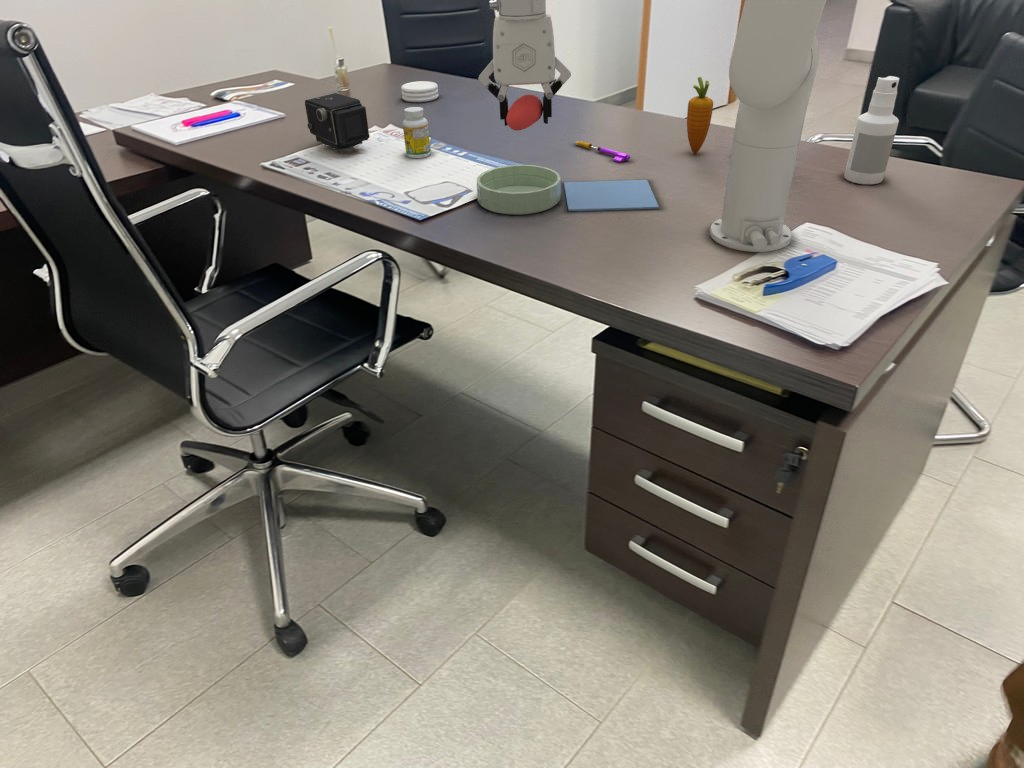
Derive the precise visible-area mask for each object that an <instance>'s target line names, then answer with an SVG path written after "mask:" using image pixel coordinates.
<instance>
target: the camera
mask: <svg viewBox="0 0 1024 768" xmlns="http://www.w3.org/2000/svg"><path fill="white" fill-rule="evenodd" d="M304 107H305V112H306V117H307V128H308V130H309V132H310V134H311V135H313V136H315V139H316V141H317V142H318V143H322V144H323V145H324V146H327V147H329V148H331V149H334V150H336V151H338V150H339V152H340V153H343V154H347V153H353V152H354V151H355V148H354V147H355V146H358V145H361V144H363V142H365V141H368V140H369V139H370V131H369V123H368V122H369V121H368V115H367V108H366V106H365V105H363V103H361V100H360V99H358V98H356V97H351V96H348V95H344V94H341V93H337V92H333V93H330V94H325V95H322V96H317V97H313V98H308V99H305V100H304Z"/></svg>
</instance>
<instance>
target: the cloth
mask: <svg viewBox="0 0 1024 768" xmlns="http://www.w3.org/2000/svg"><path fill="white" fill-rule="evenodd" d="M563 186H564V193H565V199H566V205H567V212H596V211H597V212H599V211H630V210H631V211H632V210H659V209H660V206H659V204H658V201H657V199H656V197H655V194H654V192H653V190H652V188H651V186H650V184H649V180H648V179H628V180H627V179H625V180H591V181H590V180H589V181H588V180H587V181H564V182H563Z"/></svg>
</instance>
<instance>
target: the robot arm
mask: <svg viewBox="0 0 1024 768" xmlns="http://www.w3.org/2000/svg"><path fill="white" fill-rule="evenodd" d="M488 3H489V10H494V11H496V12H497V13H498V15H497V16H495V18H494V20H493V21H494V22H493V29H492V30H493V31H492V59H491V61H490V62H489V63H488V64H487V65H486V67H485V68H484V69H483V70H482V71H481V73H480V74H479V75H478V81H479V83H480V84H481V85H482V86H484V88H486V89H487V90H488V92H489V93H491V95H493V96H494V98H496V99H497V101H498V102H499V119H500V121H501V120H504V126H505V127H507V126H508V124H507V121H506V118H507V114H508V111H509V98H508V97H507V93H508V90H509V87H510V86H524V85H527V86H528V85H541V88H542V90H543V96H542V105H543V113H542V120H543V124H545V125H547V124H548V125H549V118H552V115H553V110H552V109H553V106H552V105H553V104H552V99H553V98H554V96H555V95H556V94H557V93H558V92H559V91H560V89H561V88H562V87H563V85H565V84H566V82H567V81H568V80H569V79H570V78H571V77H572V72H571V71H570V69H569V68H568V67H566V65H564V63H563V62H561V61H560V59H558V57H557V56H556V51H555V37H554V36H555V35H554V29H553V28H554V27H553V20H552V16H551V15H550V14H549V13H547V3H546V0H489V1H488ZM826 3H827V0H744V3H743V7H742V8H743V9H742V11H741V16H740V19H739V24H738V27H737V32H736V35H735V40H734V44H733V46H732V47H733V48H732V52H731V56H730V59H729V60H730V61H729V66H728V79H729V85H730V87H731V90H732V92H733V94H734V95H735V97H736V98H737V99H738V100H739V103H738V109H737V113H736V121H735V126H734V132H733V137H732V144H731V150H730V151H731V152H730V159H729V166H728V173H727V179H726V185H725V193H724V199H723V205H722V206H723V208H722V214H721V218H719V219H716V220H715V221H713V222H712V223H711V225H710V227H709V235H710V237H711V239H713V241H714V242H715V243H717V244H719V245H721V246H723V247H725V248H728V249H731V250H736V251H741V252H748V253H768V252H774V251H778V250H780V249H783V248H785V247H787V246H788V245H789V244H790V243H791V241H792V236H793V233H792V229H790V228H789V226H788V225H786V224H785V218H786V213H787V208H788V204H789V199H790V194H791V190H792V189H791V188H792V184H793V178H794V174H795V167H796V163H797V157H798V152H799V149H800V143H801V140H802V133H803V130H804V125H805V119H806V115H807V111H808V105H809V102H810V97H811V93H812V90H813V86H814V82H815V80H816V79H815V78H816V74H817V70H818V64H819V59H820V47H819V41H818V39H817V35H816V34H817V31H818V29H819V28H818V27H819V24H820V22H821V18H822V15H823V12H824V9H825V6H826ZM556 71H557V72H558V73H559V76H558V77H557V79H555V77H556ZM492 74H493V77H494V81H495V83H496V84H498V85H499V86H498V85H496V84H495V83H494V82H493V81H492V80H491V79H490V76H492ZM552 81H553V82H552ZM551 82H552V83H551ZM550 83H551V84H550ZM508 127H509V126H508Z"/></svg>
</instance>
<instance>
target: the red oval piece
mask: <svg viewBox="0 0 1024 768" xmlns="http://www.w3.org/2000/svg"><path fill="white" fill-rule="evenodd" d="M542 117H543V101H542V100H541V99H540V98H539V97H538V96H537V95H534V94H528V93H527V94H523V95H521V96H520V97H518V98H517V99H516V100H514V101H513V103H512V104H511V106H510V107H509V108H508V114H507V118H506V121H507V124H508V128H509V129H511V130H513V131H517V132H518V131H523V130H525V129H528V128H530V127H531V126H533V125H534V124H535V123H537V122H538V121H539V120H541V118H542Z"/></svg>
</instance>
